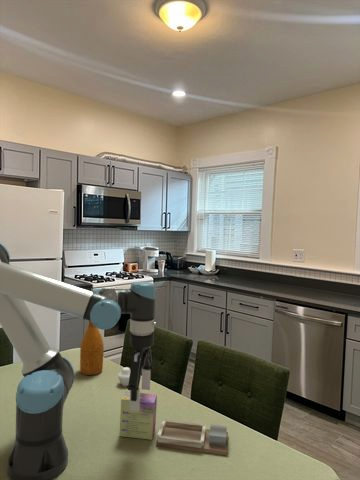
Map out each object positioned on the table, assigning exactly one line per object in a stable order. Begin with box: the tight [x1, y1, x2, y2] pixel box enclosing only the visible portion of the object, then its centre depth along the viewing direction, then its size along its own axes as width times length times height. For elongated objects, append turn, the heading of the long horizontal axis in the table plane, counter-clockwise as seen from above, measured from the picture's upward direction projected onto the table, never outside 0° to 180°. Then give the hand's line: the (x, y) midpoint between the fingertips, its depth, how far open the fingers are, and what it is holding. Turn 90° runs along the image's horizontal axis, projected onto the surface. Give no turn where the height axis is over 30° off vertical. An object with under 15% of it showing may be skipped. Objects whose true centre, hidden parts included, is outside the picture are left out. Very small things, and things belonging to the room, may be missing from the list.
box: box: [119, 391, 158, 441], centre depth 113 cm, size 10×6×12 cm, turn 84°
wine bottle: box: [79, 321, 105, 376], centre depth 157 cm, size 10×10×30 cm
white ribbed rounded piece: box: [117, 366, 131, 387], centre depth 146 cm, size 6×6×7 cm
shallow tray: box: [155, 419, 229, 456], centre depth 110 cm, size 10×21×4 cm, turn 81°
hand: (140, 399), depth 112 cm, fingers open, 13 cm apart
